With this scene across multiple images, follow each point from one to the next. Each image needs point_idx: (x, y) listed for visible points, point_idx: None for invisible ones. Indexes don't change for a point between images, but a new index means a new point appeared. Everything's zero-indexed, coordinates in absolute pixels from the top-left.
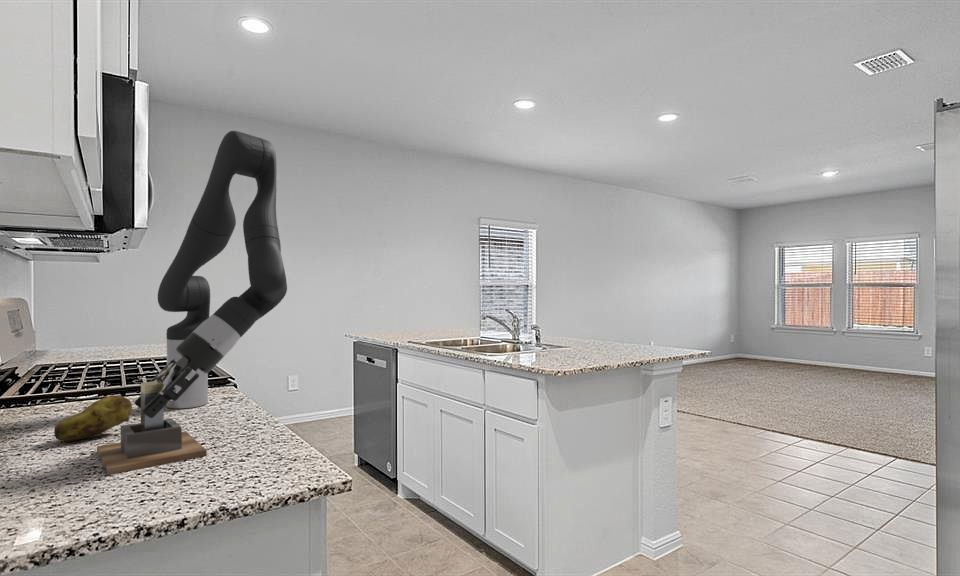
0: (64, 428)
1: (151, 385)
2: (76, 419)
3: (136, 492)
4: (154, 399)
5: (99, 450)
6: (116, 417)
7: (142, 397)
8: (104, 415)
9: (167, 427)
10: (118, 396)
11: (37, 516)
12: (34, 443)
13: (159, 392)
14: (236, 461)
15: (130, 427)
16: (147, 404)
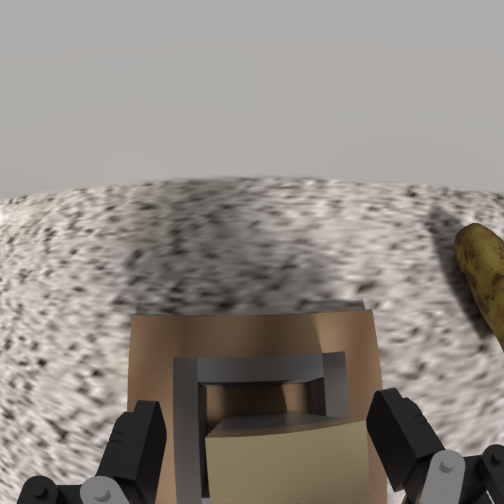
0: (463, 236)
1: (211, 479)
2: (482, 249)
3: (10, 337)
4: (119, 453)
5: (324, 313)
6: (501, 336)
7: (285, 423)
8: (496, 306)
9: None
10: None
11: (32, 217)
12: (469, 217)
13: (114, 486)
14: None
15: (323, 381)
16: (148, 424)
